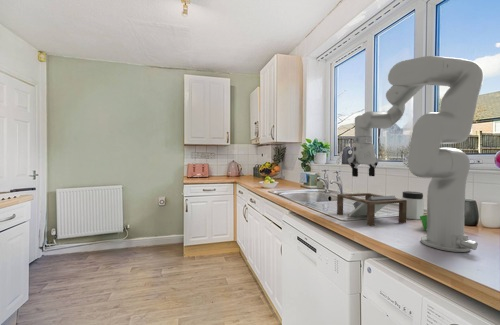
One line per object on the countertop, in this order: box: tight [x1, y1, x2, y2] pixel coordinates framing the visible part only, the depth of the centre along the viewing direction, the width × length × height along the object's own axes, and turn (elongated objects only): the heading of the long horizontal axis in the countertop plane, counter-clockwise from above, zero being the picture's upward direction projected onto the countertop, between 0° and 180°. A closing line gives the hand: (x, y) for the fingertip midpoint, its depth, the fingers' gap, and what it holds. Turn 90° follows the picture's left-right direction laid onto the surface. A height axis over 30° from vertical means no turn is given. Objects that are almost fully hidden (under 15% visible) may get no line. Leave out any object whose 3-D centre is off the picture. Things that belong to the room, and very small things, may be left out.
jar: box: [401, 190, 425, 221], centre depth 117 cm, size 9×8×12 cm
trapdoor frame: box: [336, 192, 407, 227], centre depth 115 cm, size 22×19×10 cm
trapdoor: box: [348, 195, 397, 217], centre depth 114 cm, size 17×14×2 cm
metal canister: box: [352, 201, 362, 210], centre depth 121 cm, size 5×5×5 cm
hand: (363, 176), depth 119 cm, fingers open, 9 cm apart
